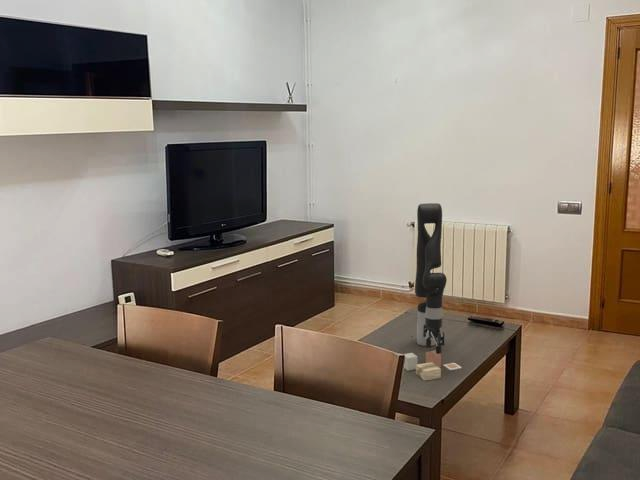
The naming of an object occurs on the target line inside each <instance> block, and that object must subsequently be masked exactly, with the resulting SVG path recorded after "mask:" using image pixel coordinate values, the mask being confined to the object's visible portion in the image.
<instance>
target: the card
mask: <svg viewBox="0 0 640 480" xmlns="http://www.w3.org/2000/svg"><path fill="white" fill-rule="evenodd" d="M442 366H443V367H444V368H446V369H448V370H449V371H454V370H455V371H456V370H459V369H462V366H460V365H459V364H457V363H455V362H451V363H446V364H443V365H442Z"/></svg>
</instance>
